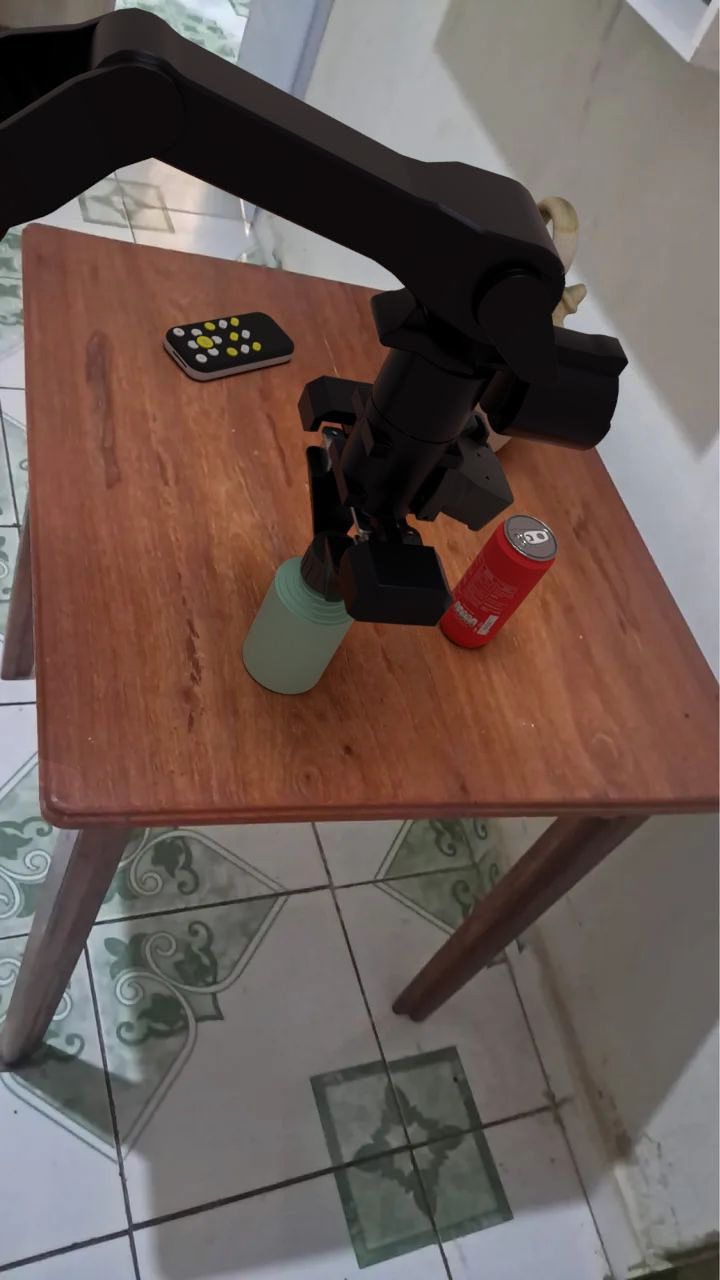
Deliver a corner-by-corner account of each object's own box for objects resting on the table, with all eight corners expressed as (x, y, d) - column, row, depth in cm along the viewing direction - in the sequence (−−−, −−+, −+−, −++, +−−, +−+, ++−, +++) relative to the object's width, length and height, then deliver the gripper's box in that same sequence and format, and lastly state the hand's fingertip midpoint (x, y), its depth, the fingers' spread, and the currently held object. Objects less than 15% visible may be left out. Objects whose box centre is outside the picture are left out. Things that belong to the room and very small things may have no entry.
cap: (327, 547, 67) (339, 522, 66) (363, 585, 66) (377, 561, 65) (288, 565, 65) (299, 540, 63) (325, 605, 64) (338, 581, 62)
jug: (372, 447, 92) (491, 215, 74) (379, 353, 102) (486, 127, 84) (513, 495, 96) (660, 286, 78) (507, 401, 106) (636, 194, 87)
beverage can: (426, 608, 82) (489, 514, 73) (472, 599, 85) (539, 508, 76) (454, 656, 80) (523, 566, 71) (500, 646, 83) (573, 558, 74)
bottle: (229, 669, 71) (276, 566, 62) (259, 613, 75) (307, 509, 66) (306, 708, 71) (364, 610, 62) (332, 649, 75) (389, 551, 67)
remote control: (296, 362, 96) (302, 346, 94) (193, 385, 88) (198, 368, 86) (260, 322, 97) (266, 306, 96) (156, 342, 90) (160, 324, 88)
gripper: (585, 545, 53) (461, 695, 64) (493, 329, 63) (400, 492, 74) (405, 525, 48) (307, 690, 60) (337, 296, 58) (264, 475, 70)
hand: (326, 577), depth 66 cm, fingers closed on cap, 3 cm apart
